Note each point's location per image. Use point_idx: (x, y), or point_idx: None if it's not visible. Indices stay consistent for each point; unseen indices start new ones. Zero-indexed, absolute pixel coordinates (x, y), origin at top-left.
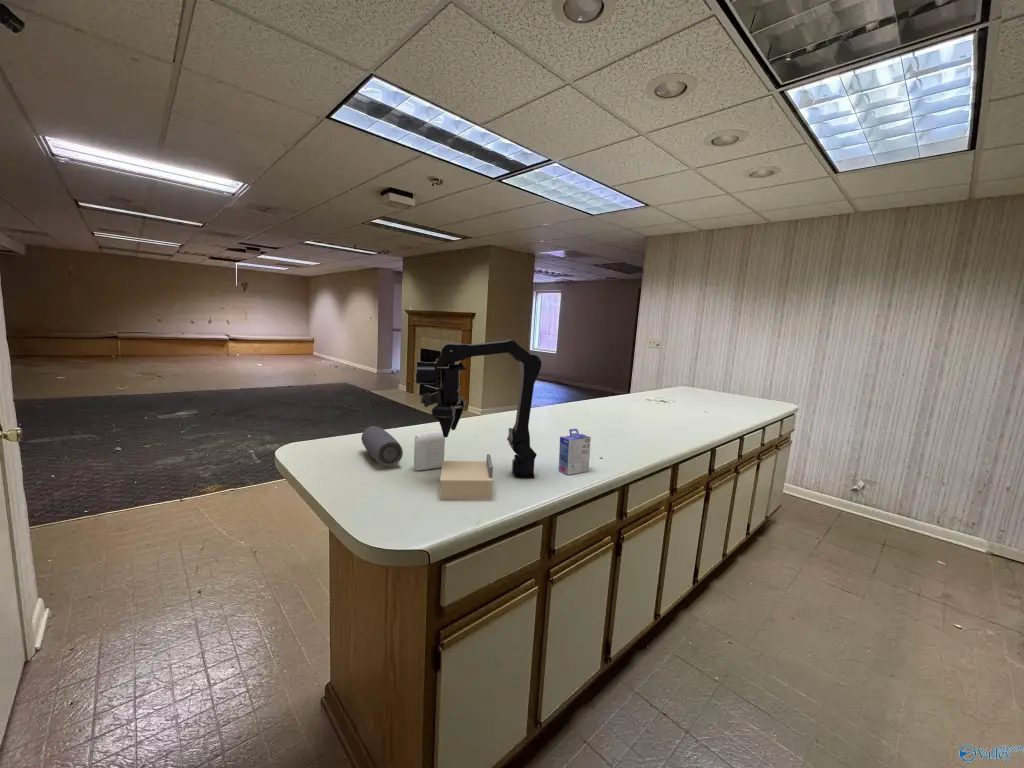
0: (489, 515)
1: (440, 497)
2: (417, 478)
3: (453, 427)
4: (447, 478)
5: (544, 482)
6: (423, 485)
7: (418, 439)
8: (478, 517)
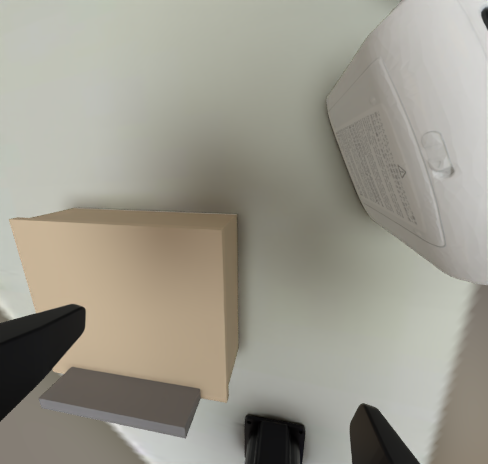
0: (28, 310)
1: (69, 209)
2: (238, 113)
3: (360, 448)
4: (31, 244)
5: (218, 460)
6: (171, 146)
7: (384, 19)
8: (14, 288)
